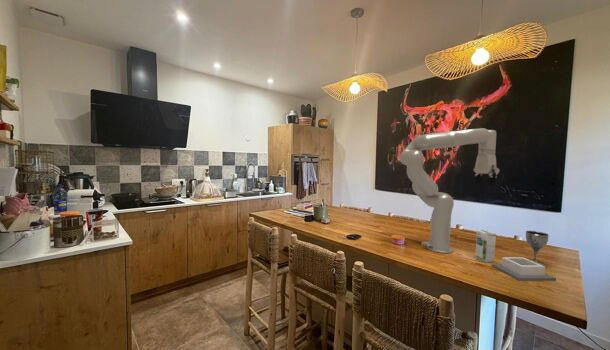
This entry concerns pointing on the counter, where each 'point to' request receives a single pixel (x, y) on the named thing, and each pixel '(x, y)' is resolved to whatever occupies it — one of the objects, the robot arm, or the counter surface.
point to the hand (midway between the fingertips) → (484, 184)
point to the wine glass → (536, 242)
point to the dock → (522, 269)
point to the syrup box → (485, 246)
